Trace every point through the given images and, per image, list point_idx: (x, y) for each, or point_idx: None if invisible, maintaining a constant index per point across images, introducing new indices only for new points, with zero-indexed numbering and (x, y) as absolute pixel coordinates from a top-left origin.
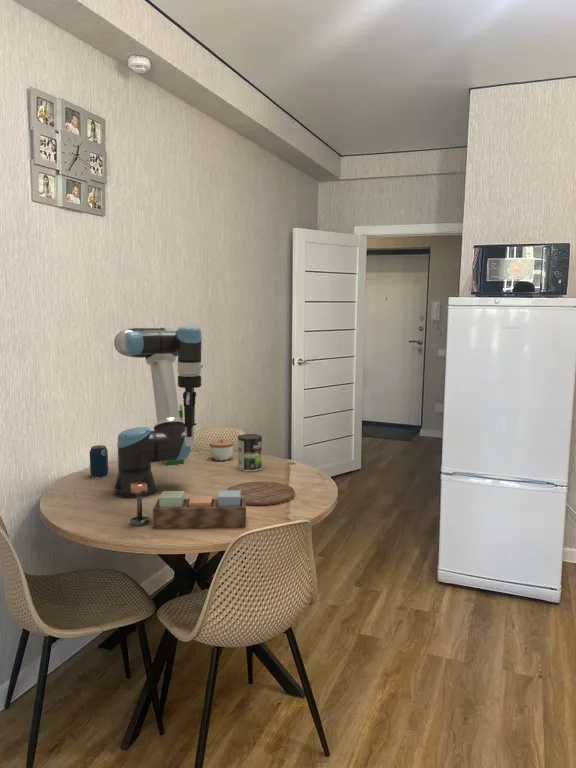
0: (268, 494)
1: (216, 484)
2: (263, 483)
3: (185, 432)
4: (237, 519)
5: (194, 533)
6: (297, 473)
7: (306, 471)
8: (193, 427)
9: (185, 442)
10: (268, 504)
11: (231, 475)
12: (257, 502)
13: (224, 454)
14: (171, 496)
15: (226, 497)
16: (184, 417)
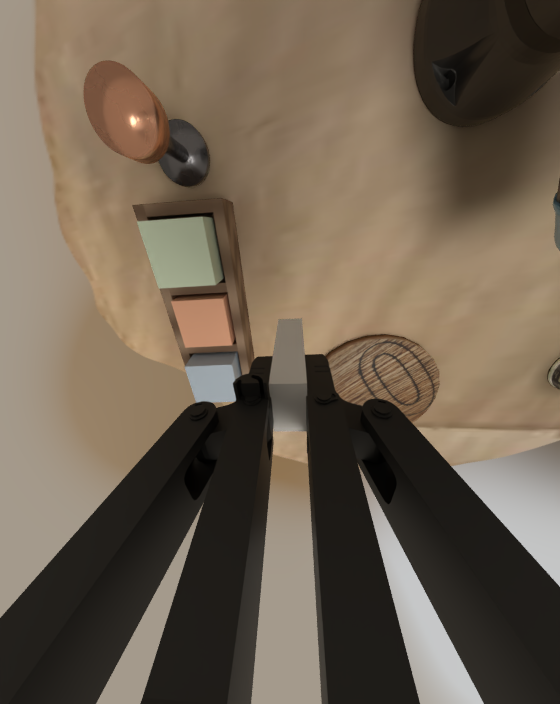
0: None
1: (474, 305)
2: (420, 399)
3: (272, 359)
4: None
5: (156, 304)
6: (488, 439)
7: (494, 450)
8: (274, 427)
9: (277, 328)
10: None
11: (540, 331)
12: None
13: None
14: (160, 257)
15: (189, 380)
16: (114, 489)
